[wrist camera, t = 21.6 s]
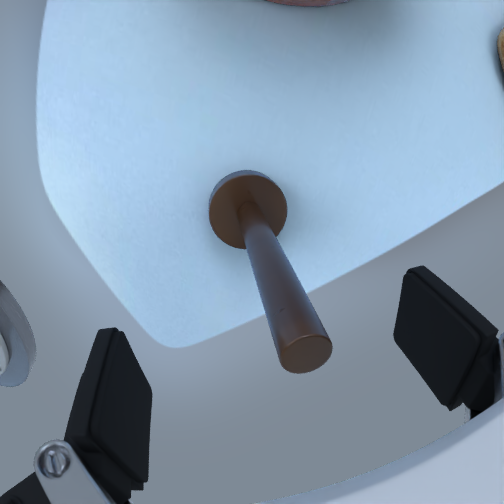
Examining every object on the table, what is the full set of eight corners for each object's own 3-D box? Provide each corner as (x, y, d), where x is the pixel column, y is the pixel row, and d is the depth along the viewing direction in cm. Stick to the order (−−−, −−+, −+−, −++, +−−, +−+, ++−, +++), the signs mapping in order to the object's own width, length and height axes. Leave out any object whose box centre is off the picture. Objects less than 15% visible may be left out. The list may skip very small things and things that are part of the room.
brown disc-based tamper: (215, 246, 22) (234, 420, 9) (202, 177, 20) (195, 301, 7) (285, 233, 23) (375, 384, 10) (277, 164, 20) (396, 260, 7)
